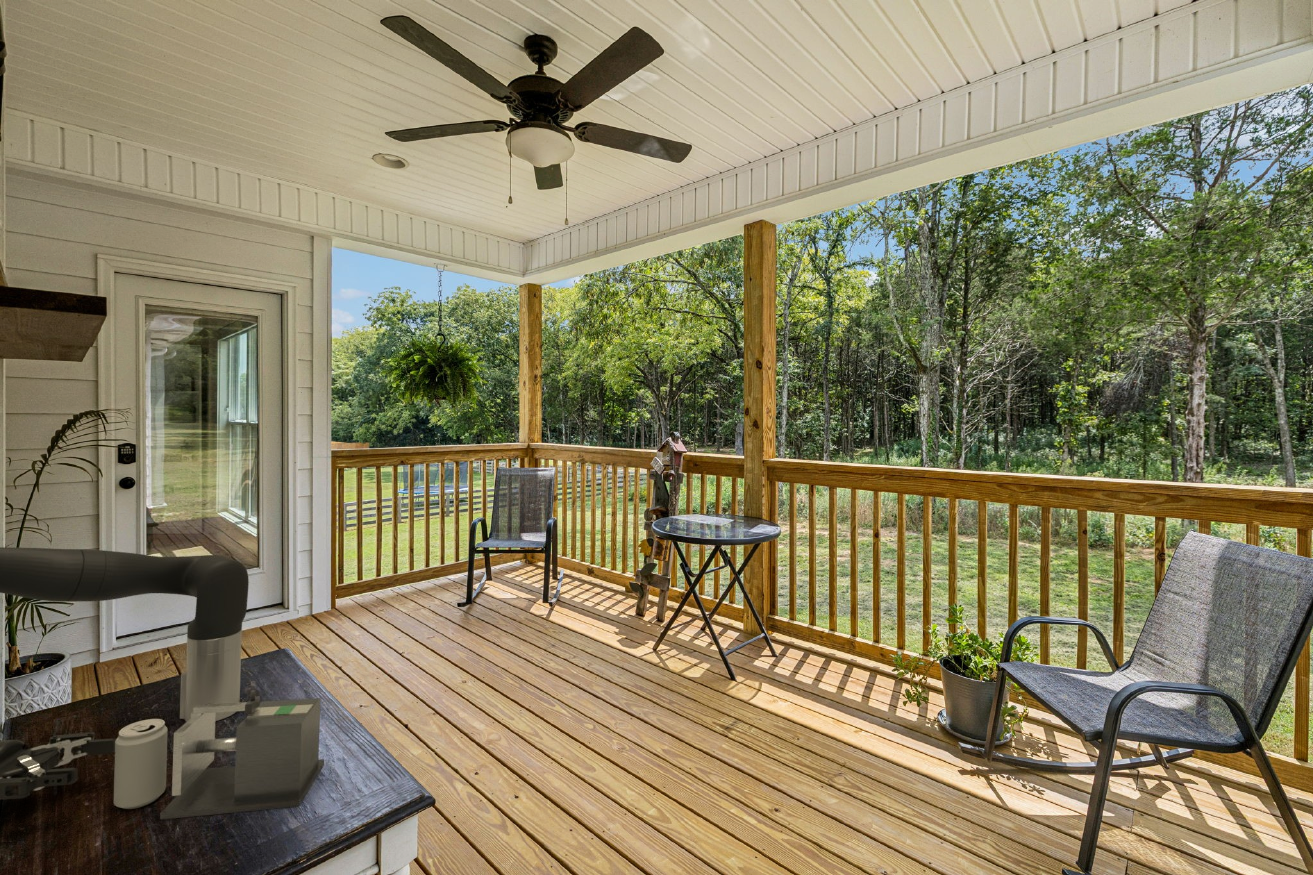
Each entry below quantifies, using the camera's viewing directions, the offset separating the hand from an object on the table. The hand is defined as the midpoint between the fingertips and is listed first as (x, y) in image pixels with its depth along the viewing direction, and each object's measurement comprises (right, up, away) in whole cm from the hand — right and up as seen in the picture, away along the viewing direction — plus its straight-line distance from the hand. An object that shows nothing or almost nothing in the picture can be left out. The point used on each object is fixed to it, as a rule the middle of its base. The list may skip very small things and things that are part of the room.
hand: (96, 759), depth 93 cm
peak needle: (+22, +6, +5) cm, 23 cm away
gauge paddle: (+17, -5, +4) cm, 18 cm away
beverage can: (+6, -7, +1) cm, 10 cm away
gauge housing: (+21, -8, +5) cm, 23 cm away
